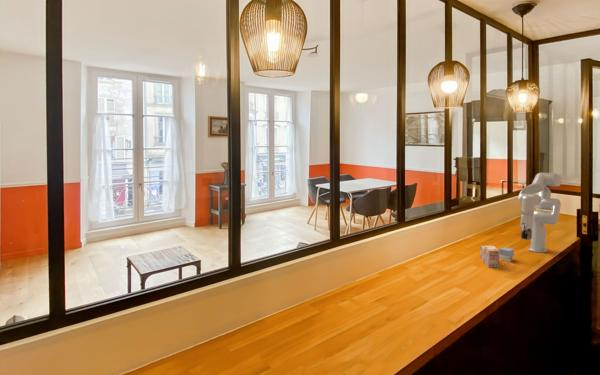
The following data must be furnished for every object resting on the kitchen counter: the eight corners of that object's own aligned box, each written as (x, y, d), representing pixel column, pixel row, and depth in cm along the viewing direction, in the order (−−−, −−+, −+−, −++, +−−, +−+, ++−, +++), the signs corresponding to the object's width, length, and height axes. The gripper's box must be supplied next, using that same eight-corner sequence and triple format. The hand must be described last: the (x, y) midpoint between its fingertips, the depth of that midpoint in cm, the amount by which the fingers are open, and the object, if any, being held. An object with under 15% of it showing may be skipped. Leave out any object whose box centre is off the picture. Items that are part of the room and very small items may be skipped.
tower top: (504, 252, 280) (504, 247, 280) (513, 254, 275) (514, 249, 274) (498, 254, 276) (499, 248, 276) (508, 256, 271) (509, 251, 270)
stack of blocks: (480, 258, 280) (481, 241, 279) (489, 258, 279) (490, 242, 277) (488, 267, 259) (489, 250, 258) (498, 268, 258) (499, 250, 257)
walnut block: (524, 237, 277) (524, 229, 276) (531, 238, 273) (532, 230, 272) (520, 238, 274) (521, 230, 273) (528, 239, 270) (528, 231, 269)
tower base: (503, 257, 281) (504, 252, 280) (513, 260, 275) (513, 254, 275) (498, 259, 277) (499, 254, 276) (508, 262, 271) (509, 256, 271)
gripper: (527, 210, 279) (526, 234, 281) (516, 214, 269) (515, 238, 272) (538, 212, 273) (537, 236, 275) (527, 215, 263) (526, 241, 266)
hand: (526, 237), depth 273 cm, fingers closed on walnut block, 5 cm apart
